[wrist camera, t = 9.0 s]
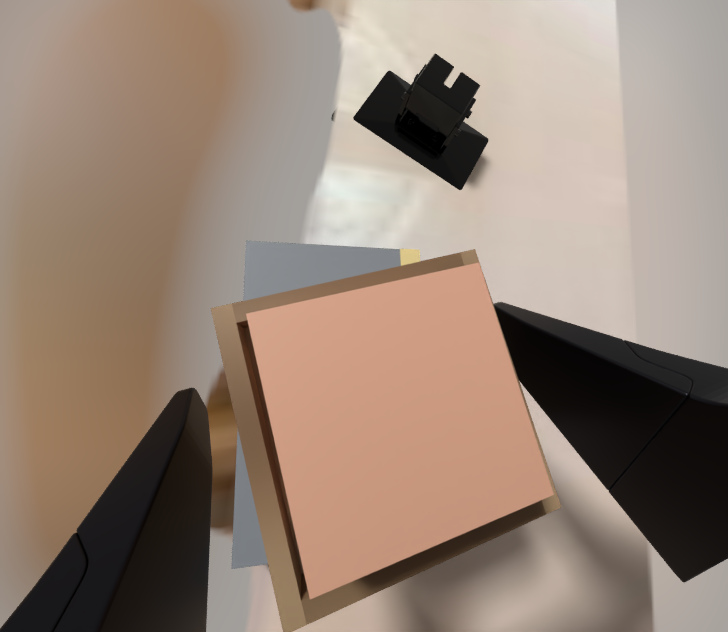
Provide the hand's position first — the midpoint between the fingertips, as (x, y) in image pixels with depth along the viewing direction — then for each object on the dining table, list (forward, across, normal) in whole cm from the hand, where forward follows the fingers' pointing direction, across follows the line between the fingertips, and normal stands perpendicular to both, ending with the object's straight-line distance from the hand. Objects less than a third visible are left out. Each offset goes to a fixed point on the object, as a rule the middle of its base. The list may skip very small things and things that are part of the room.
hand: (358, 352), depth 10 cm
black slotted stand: (+19, -12, -2) cm, 22 cm away
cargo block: (-2, 0, -1) cm, 2 cm away
